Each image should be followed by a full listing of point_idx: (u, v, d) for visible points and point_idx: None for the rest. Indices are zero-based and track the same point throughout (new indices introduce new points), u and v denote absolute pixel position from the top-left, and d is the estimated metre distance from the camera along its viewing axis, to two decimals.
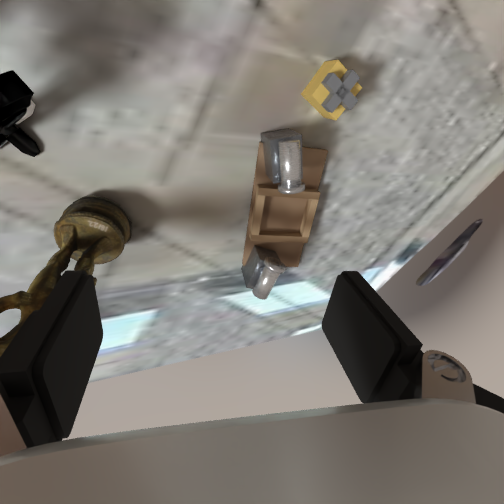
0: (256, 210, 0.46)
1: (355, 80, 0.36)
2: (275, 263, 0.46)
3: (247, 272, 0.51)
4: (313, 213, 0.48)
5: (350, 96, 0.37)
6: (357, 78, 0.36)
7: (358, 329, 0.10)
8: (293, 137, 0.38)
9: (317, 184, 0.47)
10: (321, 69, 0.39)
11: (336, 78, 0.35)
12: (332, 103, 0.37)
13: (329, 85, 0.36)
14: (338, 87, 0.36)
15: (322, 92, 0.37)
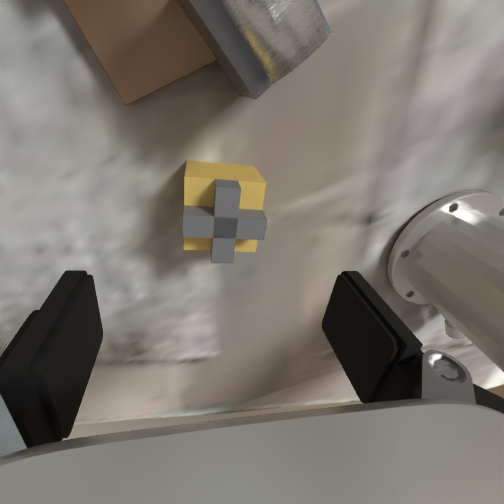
0: None
1: (216, 255, 0.18)
2: None
3: None
4: None
5: (204, 232, 0.17)
6: (215, 259, 0.18)
7: (358, 329, 0.10)
8: None
9: None
10: None
11: (252, 236, 0.18)
12: (229, 200, 0.16)
13: (257, 220, 0.17)
14: (238, 228, 0.17)
15: (249, 199, 0.18)
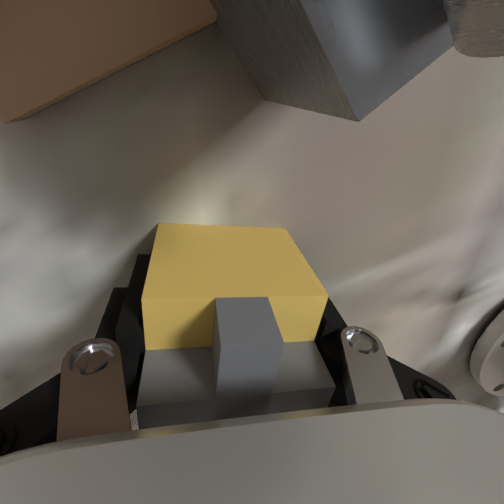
0: None
1: None
2: None
3: None
4: None
5: None
6: None
7: None
8: (427, 51, 0.04)
9: None
10: None
11: None
12: (254, 367, 0.07)
13: (314, 390, 0.07)
14: (271, 409, 0.07)
15: (289, 327, 0.08)
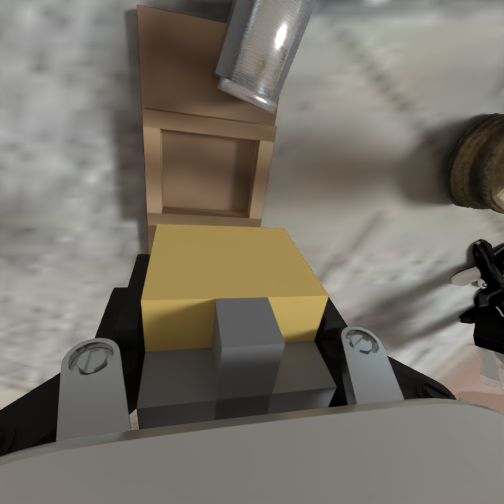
0: (264, 192, 0.26)
1: None
2: (246, 101, 0.18)
3: None
4: (149, 185, 0.24)
5: None
6: None
7: None
8: None
9: (150, 225, 0.27)
10: None
11: None
12: (255, 368, 0.06)
13: (315, 390, 0.07)
14: (272, 409, 0.07)
15: (289, 327, 0.08)
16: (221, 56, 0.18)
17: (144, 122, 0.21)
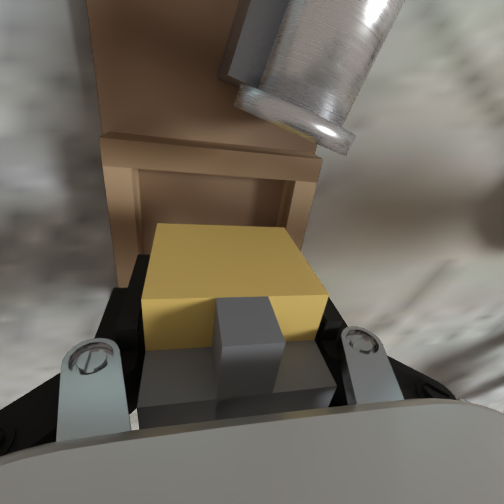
0: None
1: None
2: None
3: None
4: (119, 253, 0.15)
5: None
6: None
7: None
8: None
9: None
10: None
11: None
12: (255, 367, 0.06)
13: (315, 389, 0.07)
14: (272, 408, 0.07)
15: (289, 326, 0.08)
16: (241, 41, 0.09)
17: (104, 159, 0.13)
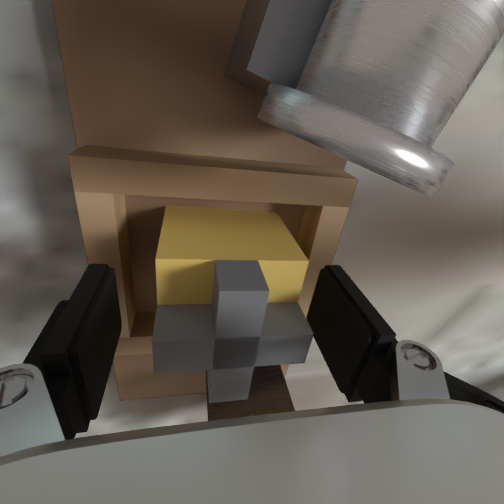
0: None
1: (217, 392, 0.10)
2: None
3: None
4: None
5: (194, 363, 0.09)
6: (215, 398, 0.10)
7: (338, 321, 0.10)
8: None
9: None
10: None
11: (284, 360, 0.10)
12: (246, 311, 0.08)
13: (296, 336, 0.09)
14: (260, 351, 0.09)
15: (276, 288, 0.10)
16: (268, 17, 0.06)
17: (76, 183, 0.09)
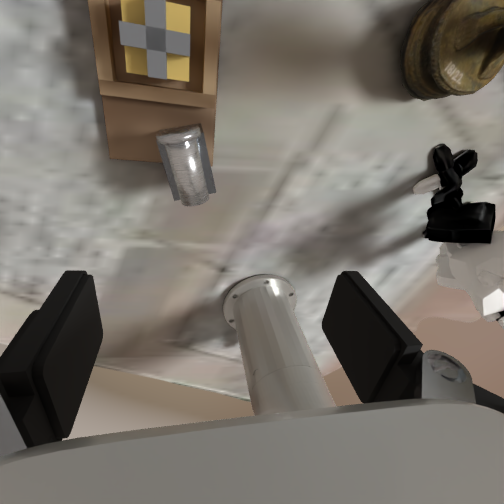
0: (215, 63, 0.26)
1: (151, 68, 0.22)
2: None
3: None
4: (97, 45, 0.24)
5: (138, 41, 0.21)
6: (150, 73, 0.22)
7: (358, 329, 0.10)
8: None
9: (106, 102, 0.28)
10: None
11: (180, 51, 0.22)
12: (156, 9, 0.20)
13: (182, 34, 0.21)
14: (167, 41, 0.21)
15: (177, 23, 0.22)
16: None
17: None
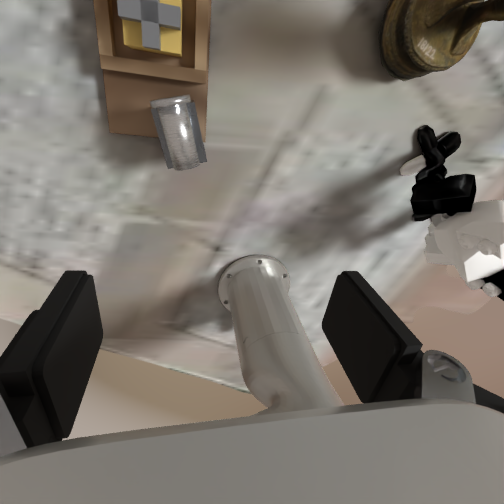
0: (205, 40, 0.29)
1: (145, 38, 0.25)
2: None
3: None
4: (99, 22, 0.27)
5: (133, 13, 0.24)
6: (145, 42, 0.25)
7: (358, 329, 0.10)
8: None
9: (106, 78, 0.30)
10: (181, 42, 0.29)
11: (171, 23, 0.24)
12: None
13: (173, 7, 0.24)
14: (159, 13, 0.24)
15: None
16: None
17: None
